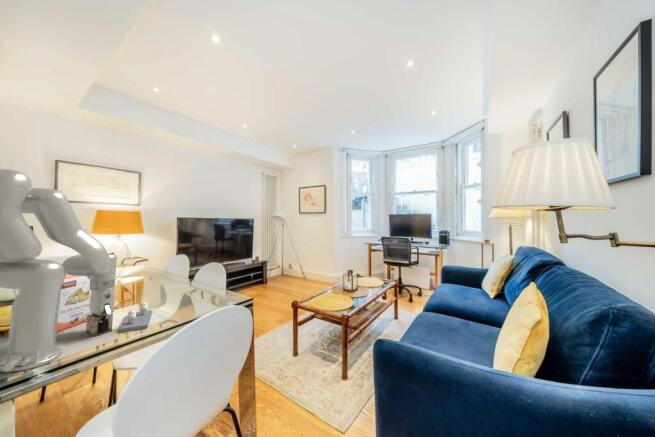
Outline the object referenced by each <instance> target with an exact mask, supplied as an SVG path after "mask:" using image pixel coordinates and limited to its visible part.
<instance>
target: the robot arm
mask: <svg viewBox="0 0 655 437" xmlns="http://www.w3.org/2000/svg"><path fill="white" fill-rule="evenodd" d="M23 214H33V215H34V216H35V217H36V219H37V221H38V222H39V224H40V226H41V227H42V230H44V232H45V234H46V236H47V237H48V238H49V239H50V240H51V241H54V242H55V243H56V244H57V243H58V244H60V245H62V246H65V247H68V249H72V250H73V251H75V252H77V253H78V255H73V256H70V257H67V258H66V259H65V260H63V262H62V264H61V263H60V262H58V261H56V260H52V259H45V258H43V259H40V258H38V257H39V256H40V255H41V254H42V251H43V245H42V243H41V241H40V239H39V238H38V236H37V235H36V234H35V232H34V231H33V229H32V228H31V227H30V225H29V224H28V222H27V221H26V219H25V217H24V215H23ZM117 262H118V256H117V255H116V254H115V253H114V254H110V253H108V250H107V249H106V247H105V246H104V245H103V244H102V242H101V241H99V240H98V239H97V238H96V237H95V236H93V234H91V233H90V232H88V231H86V230H85V228H83V227H82V225H81V222H80V221H79V219H78V217H77V215H76V213H75V212H74V209H73V207H72V205H71V202H70V201H69V199H68V198H67V196H66V195H65V194H64V193H63V192H62V191H60V190H58V189H54V188H47V187H46V188H44V187H43V188H42V187H33V182H32V180H31V178H30V177H29V176H28V174H25V173H23V172H21V171H19V170H15V169H7V168H0V288H1V289H7V290H19V292H18V294H17V295H16V297H15V299H14V300H13V303H12V305H11V311H10V324H9V334H8V335H9V336H8V345H7V358H5V359H3V360H2V361H1V362H0V372H1V373H13V372H20V371H26V370H29V369H34V368H37V367H41V366H43V365H45V364H48V363H51V362H52V361H54V360H56V359H57V358H59V357H60V356H61V355H62V353H63V352H62V348H60V347H56V342H57V333H56V331H57V319H58V308H59V297H60V291H61V288H62V285H63V282H64V279H65V276H67V275H68V276H71V275H74V276H90V287H89V290H92V291H91V296H90V307H89V308H90V311H91V313H92V314H97V315H99V323H98V330H97V333H101V332H105V331H108V328H109V320H110V319H109V318H110V316H111V313H112V314H114V312H115V287H116V286H115V285H116V278H117V277H116V274H117V264H116V263H117ZM103 312H105V313H104V314H102V313H103ZM103 315H105V316H104V317H103V318H102V316H103Z"/></svg>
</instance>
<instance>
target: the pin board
mask: <svg viewBox="0 0 655 437" xmlns="http://www.w3.org/2000/svg"><path fill="white" fill-rule="evenodd" d="M139 306H140V310H139V311H136V309H130V310H129V311H128V313H127V315H126V317H125V319H124V321H123V323H122V324H121V326H120V328H119V333H121V334H122V333H126V332H132V331H138V330H139V329H141V330H146V328H147V329H148V328H149V325H150V321H151V318H152V315H153V310H152V309H151V310H148V302H146V301H143V302H141V304H140V305H139Z"/></svg>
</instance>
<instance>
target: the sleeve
mask: <svg viewBox="0 0 655 437" xmlns="http://www.w3.org/2000/svg"><path fill="white" fill-rule="evenodd" d="M104 313H105V312H103V313H102V314H104ZM104 316H105V315H103V316H102V318H103V317H104ZM113 318H114V313H111V316H110V318H109V319H110V320H109V328H108V331H105V332H101V333H97V330H98V323H99V315H97V314H90V315H87V321H86V327H85V334H86V333H87V335H88V334H89V335H88V336H90V337H91V336H92V338H93V337H97V336H101V335H103V334H108V333H110V332H113V320H114V319H113Z"/></svg>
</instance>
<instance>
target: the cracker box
mask: <svg viewBox="0 0 655 437" xmlns="http://www.w3.org/2000/svg"><path fill="white" fill-rule="evenodd" d="M89 287H90V276H74V275H66V276H65V279H64V282H63V285H62V288H61V291H60V297H59V308H58V319H57V331H56V334H57V333H59V332H62V331H64V330H67V329H70V328H72V326H73V327H75V325H76V326H78V325H80V324H79V323H81V324H83V323H82V322H84V321H86V320H87V315H90V314H92V313H91V311H90V308H89V307H90V296H91V291H92V290H89ZM86 322H87V321H86ZM84 323H85V322H84ZM77 324H78V325H77Z"/></svg>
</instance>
